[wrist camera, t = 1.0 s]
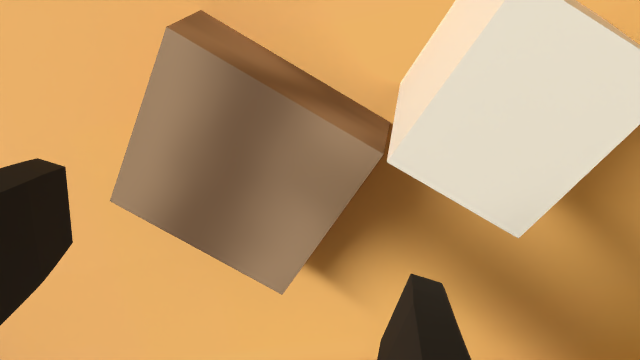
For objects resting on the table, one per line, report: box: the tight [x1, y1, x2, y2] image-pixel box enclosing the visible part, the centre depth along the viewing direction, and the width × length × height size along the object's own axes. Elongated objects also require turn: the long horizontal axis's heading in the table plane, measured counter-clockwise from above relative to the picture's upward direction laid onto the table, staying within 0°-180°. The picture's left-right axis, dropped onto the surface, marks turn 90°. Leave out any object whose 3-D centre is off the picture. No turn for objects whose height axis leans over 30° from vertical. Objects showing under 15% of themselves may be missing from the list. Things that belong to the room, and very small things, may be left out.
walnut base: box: [110, 10, 390, 294], centre depth 19 cm, size 8×8×3 cm
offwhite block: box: [387, 0, 640, 238], centre depth 13 cm, size 4×5×6 cm
